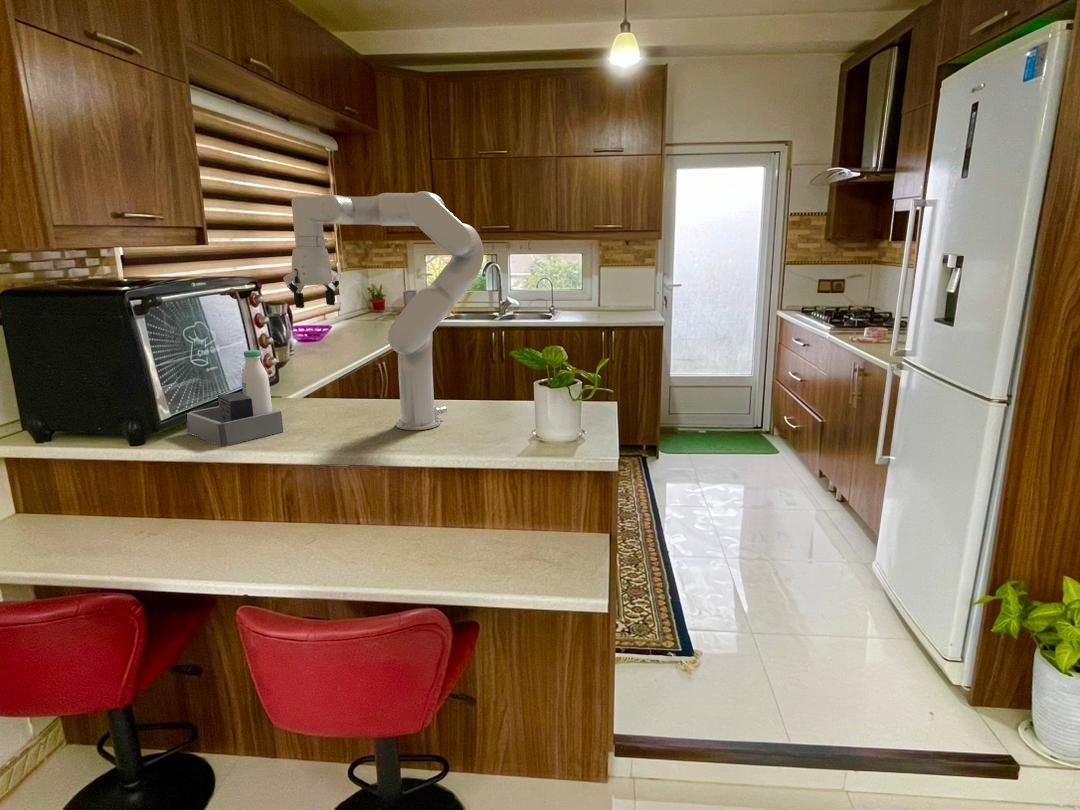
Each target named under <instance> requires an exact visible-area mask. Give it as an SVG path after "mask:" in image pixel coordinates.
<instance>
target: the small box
mask: <svg viewBox="0 0 1080 810" xmlns="http://www.w3.org/2000/svg"><path fill="white" fill-rule="evenodd" d="M217 399H218V406H219V408H220V417H221V423H224V422H229V421H234V420H238V419H243V418H248V417H252V416H253V406H252V398H250V397H248V396H246V395H244V394H243V392H233V393H224V394H217Z"/></svg>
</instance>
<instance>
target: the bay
mask: <svg viewBox="0 0 1080 810" xmlns="http://www.w3.org/2000/svg"><path fill="white" fill-rule="evenodd" d="M185 424H186V430H187V433H188V432H189V433H191V434H194V435H196V436H198V437H200V438H199V439H201V438H203V439H202V440H204V439H205V441H206V440H208V441H207V442H209V441H210V442H209V443H212V442H213V443H212V444H214V443H215V445H217V444H218V445H217V446H220V445H221V446H220V447H222V446H224V447H228V446H232V445H236V444H240V442H241V443H245V442H248V440H249V441H253V440H256V438H257V439H260V437H261V438H264V437H263V436H265V437H269V436H272V434H274V435H276V433H278V434H281V433H280V432H282V433H284V425H283V415H282V410H277V411H272V412H271V413H266V414H262V415H257V416H252V417H248V418H243V419H238V420H234V421H229V422H224V423H221V417H220V408H219V405H218V406H217V405H216V406H213V407H207V408H201V409H197V410H193V411H189V413H187V423H186V422H185ZM268 435H269V436H268ZM196 436H195V437H196ZM198 437H197V438H198ZM252 439H253V440H252ZM244 441H245V442H244ZM231 444H232V445H231ZM227 445H228V446H227Z"/></svg>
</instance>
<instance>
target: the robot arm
mask: <svg viewBox="0 0 1080 810" xmlns="http://www.w3.org/2000/svg"><path fill="white" fill-rule="evenodd" d="M291 211H292V219H293V222H292V223H293V230H294V231H293V233H294V242H295V248H292V255H291V272H289V273H287V274H286V275H285V276H283V278H282V279H283V281H284V284H285V285H286V287H287V289H289V290H290V291H291V293H292V294H293V298H294V299H293V300H294V305H295V308H298V309H304V308H305V299H304V293H303V292H302V290H303V289H304V287H309V286H322V285H323V286H324V288H325V289H326V290H325V292H324V293H325V302H326V305H328V306H335V305H336V295H335V291H337V288H338V286H339V284H340V281H341V277H342V275H341V274H340V272H339V273H338V272H337V271H335V270H333V269H332V266H331V260H330V256H329V255H330V254H329V252H328V249H327V248H326V247H325V246H326V244H328V242H329V241H328V239H327V238H325V236H324V223H325V224H331V225H332V224H333V225H334V224H335V225H378V226H382V227H393V226H395V227H403V226H404V227H405V226H407V227H411V226H412V227H418V228H419V229H420V230H421V231H422V232H423V233H424V234H425V235H426V236H427V237H428V238H430V239H431V240H432V241H433V242H434V243H435V244H436V245H437V246H438V247H439V248H440V249H441V250H442V251H444V252H445V253H447V254H448V255H450V256H451V259H450V260H449V261H448V263H447V264H446V265H445V266H444V267H443V268H442V270H441V272H440V273H439V274H438V275H437V277H435V279H434V280H433V281H432V283H430V285H428V286H427V287H424V288H422V289H420V290H418V292H417V293H415V294H414V296H413V297H412V298H411V299H410V300H409V302H408V303H407V304H406V306H405V307H404V308H403V310H402V311H401V312H400V313H399V314H398V315H397V317H396V319H394V321H393V322H392V324H391V325H390V326H389V329H388V333H387V340H388V344H389V346H390V348H391V349H392V350H393V351H394V352H396V353H397V365H398V366H397V367H398V368H397V369H398V370H397V371H398V385H399V400H400V401H399V402H400V415H401V416H400V417H401V418H400V419H398V420H397V421H396V423H395V425H396V427H397V428H398V429H401V430H406V431H407V430H408V431H423V430H429V429H430V430H431V429H433V428H437V427H438V426H440V424H441V419H440V418H439V417H438V416H439V415H443V414H445V413H447V412H448V409H447V407H446V406H445V405H444V406H440V407H437V406H435V397H434V376H433V375H434V374H433V332H434V331H435V329H436V328H437V327H438V326H439V324H440V323H441V322H442V321H443V320H444V319H445V318H447V317H448V316H449V315H450V314H451V313H452V311H453V309H454V308H455V306H456V305H457V303H458V302H459V301H460V300H461V299H462V297H463V296H464V295H465V293H466V292H467V290H468V289H469V288H470V287H471V285H472V284H473V282H474V281H475V280H476V278H477V277H478V275H479V273H480V271H481V269H482V266H483V263H484V257H485V256H484V255H485V254H484V253H485V251H484V245H483V242H482V239H481V236H480V235H479V233H478V231H477V230H476V229H475V228H474V227H473V226H471V225H469V224H468V223H462V222H461V220H459V219H458V218H457V217H456V216H454V214H453V213H452V212H450V211H449V209H447V208H446V206H445V202H444V200H443V199H442V198H441V197H440V196H439V195H437V194H436V193H433V192H429V191H425V190H422V191H417V192H407V193H406V192H383V193H379V194H378V195H374V196H373V195H372V196H344V195H337V194H322V195H318V196H317V195H315V196H313V195H297V196H294V197H292V199H291Z"/></svg>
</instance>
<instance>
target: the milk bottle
mask: <svg viewBox="0 0 1080 810" xmlns="http://www.w3.org/2000/svg"><path fill="white" fill-rule="evenodd" d="M243 356H244V359H245V363H244V367H243V370H242V373H241V388H242V394H244V395H246V396H248V397H250V398H252V406H253V416H257V415H262V414H266V413H271V412H273V406H272V396H271V389H270V388H271V387H270V381H269V375H268V372H267V370H266V369H265V367H264V365H263V364H262V361H261V351H260V350H259V349H249V350H245V351H243Z"/></svg>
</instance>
